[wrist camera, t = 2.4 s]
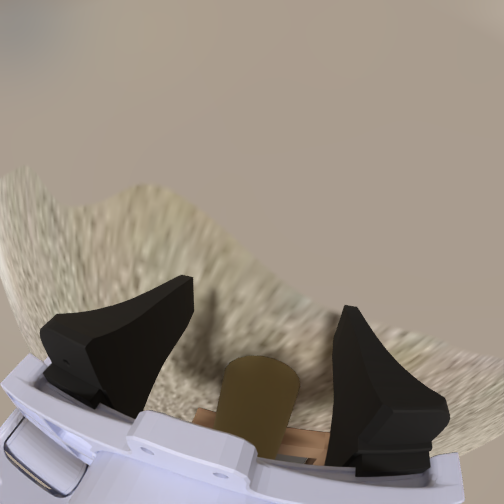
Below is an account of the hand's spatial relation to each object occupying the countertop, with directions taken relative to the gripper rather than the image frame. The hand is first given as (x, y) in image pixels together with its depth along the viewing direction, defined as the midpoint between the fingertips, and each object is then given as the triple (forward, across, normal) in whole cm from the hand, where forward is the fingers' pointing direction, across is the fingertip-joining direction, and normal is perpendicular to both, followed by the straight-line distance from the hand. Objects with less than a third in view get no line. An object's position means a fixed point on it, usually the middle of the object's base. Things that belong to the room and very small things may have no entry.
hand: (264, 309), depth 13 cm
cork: (+4, 0, +10) cm, 11 cm away
